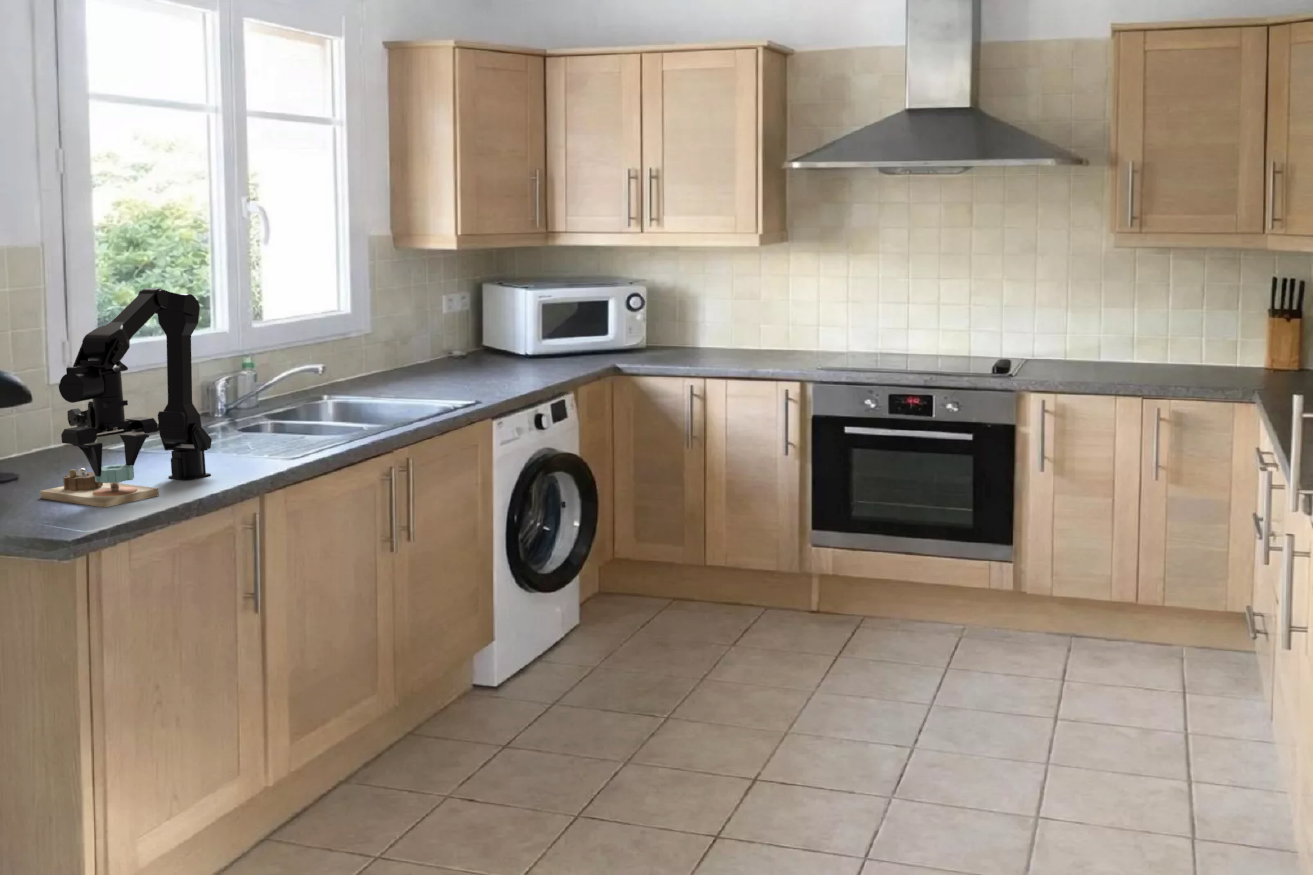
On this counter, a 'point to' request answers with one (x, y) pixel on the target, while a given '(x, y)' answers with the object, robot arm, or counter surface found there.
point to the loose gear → (115, 473)
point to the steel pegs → (113, 485)
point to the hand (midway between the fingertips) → (113, 473)
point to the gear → (80, 481)
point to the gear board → (101, 495)
